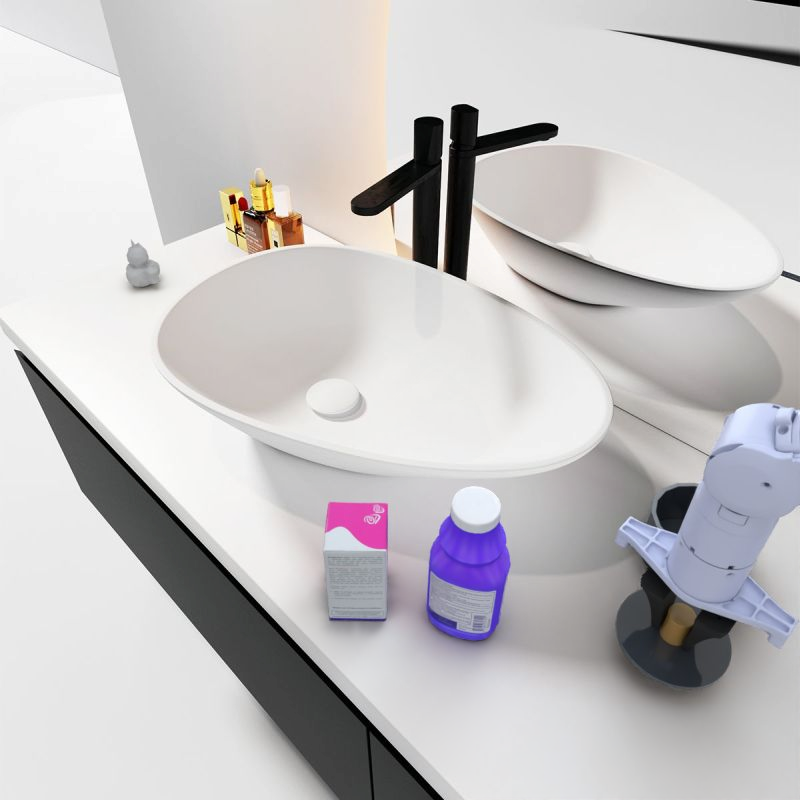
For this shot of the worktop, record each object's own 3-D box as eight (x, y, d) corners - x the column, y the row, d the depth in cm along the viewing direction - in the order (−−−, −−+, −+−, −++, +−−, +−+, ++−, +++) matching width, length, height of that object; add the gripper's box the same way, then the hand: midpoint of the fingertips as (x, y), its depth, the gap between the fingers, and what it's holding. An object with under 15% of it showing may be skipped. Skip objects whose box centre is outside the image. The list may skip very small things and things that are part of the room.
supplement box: (388, 622, 68) (386, 552, 60) (328, 621, 68) (318, 552, 60) (390, 571, 72) (388, 500, 65) (333, 571, 72) (324, 500, 65)
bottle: (506, 602, 70) (526, 488, 58) (492, 653, 66) (511, 542, 54) (436, 582, 71) (442, 468, 60) (419, 630, 67) (421, 518, 56)
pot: (747, 552, 74) (766, 517, 70) (705, 609, 69) (723, 574, 65) (666, 504, 79) (679, 468, 75) (622, 553, 74) (634, 519, 70)
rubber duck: (147, 271, 116) (135, 227, 111) (174, 283, 114) (162, 239, 108) (120, 285, 113) (106, 241, 108) (147, 298, 110) (134, 254, 105)
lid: (747, 638, 64) (763, 613, 61) (695, 717, 58) (710, 694, 56) (648, 573, 69) (659, 547, 66) (592, 641, 64) (601, 616, 61)
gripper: (837, 562, 52) (774, 653, 61) (659, 462, 59) (626, 557, 68) (800, 624, 48) (738, 711, 57) (615, 509, 56) (586, 602, 65)
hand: (674, 630), depth 63 cm, fingers closed on lid, 2 cm apart
